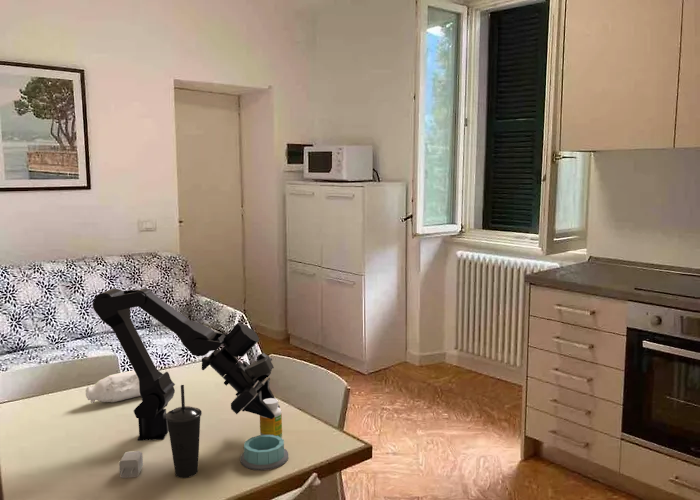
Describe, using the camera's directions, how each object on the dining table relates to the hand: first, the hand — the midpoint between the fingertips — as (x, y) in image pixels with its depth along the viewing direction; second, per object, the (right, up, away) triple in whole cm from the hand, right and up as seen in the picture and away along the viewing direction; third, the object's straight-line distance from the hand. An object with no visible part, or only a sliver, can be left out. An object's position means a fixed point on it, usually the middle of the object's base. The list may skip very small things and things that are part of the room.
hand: (276, 413), depth 150 cm
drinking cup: (-18, -9, -16) cm, 26 cm away
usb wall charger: (-30, -9, -17) cm, 36 cm away
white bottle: (-48, -4, +29) cm, 57 cm away
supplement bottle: (-1, -7, +1) cm, 7 cm away
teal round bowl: (-1, -8, -10) cm, 13 cm away
